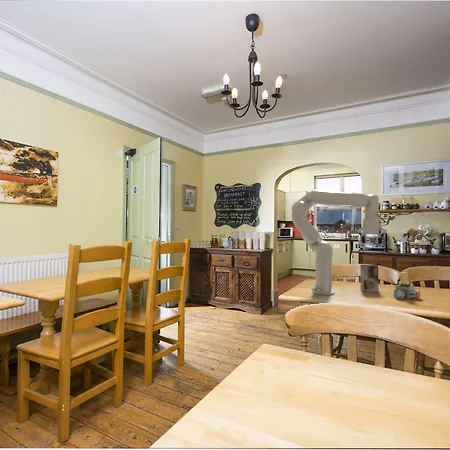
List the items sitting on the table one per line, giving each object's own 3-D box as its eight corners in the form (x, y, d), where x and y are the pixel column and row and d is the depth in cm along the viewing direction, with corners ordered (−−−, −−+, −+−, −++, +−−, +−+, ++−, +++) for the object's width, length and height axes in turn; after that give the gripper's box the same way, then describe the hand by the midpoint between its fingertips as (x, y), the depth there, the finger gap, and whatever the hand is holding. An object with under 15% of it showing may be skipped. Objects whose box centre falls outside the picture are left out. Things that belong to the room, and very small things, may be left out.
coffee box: (374, 289, 196) (374, 264, 196) (378, 291, 189) (378, 265, 189) (360, 289, 197) (360, 264, 197) (363, 291, 190) (363, 265, 190)
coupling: (407, 290, 173) (406, 273, 174) (399, 289, 177) (398, 272, 177) (409, 289, 176) (408, 272, 176) (402, 288, 179) (401, 271, 179)
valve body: (413, 302, 166) (413, 289, 166) (391, 298, 174) (391, 286, 174) (423, 297, 176) (423, 285, 176) (402, 294, 184) (402, 282, 184)
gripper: (389, 215, 179) (389, 244, 180) (360, 215, 193) (360, 242, 193) (383, 215, 175) (383, 244, 175) (354, 215, 188) (354, 243, 188)
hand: (371, 243), depth 184 cm, fingers open, 9 cm apart
